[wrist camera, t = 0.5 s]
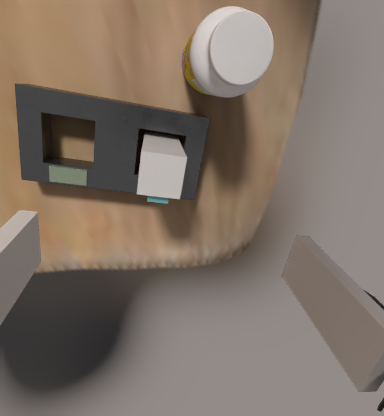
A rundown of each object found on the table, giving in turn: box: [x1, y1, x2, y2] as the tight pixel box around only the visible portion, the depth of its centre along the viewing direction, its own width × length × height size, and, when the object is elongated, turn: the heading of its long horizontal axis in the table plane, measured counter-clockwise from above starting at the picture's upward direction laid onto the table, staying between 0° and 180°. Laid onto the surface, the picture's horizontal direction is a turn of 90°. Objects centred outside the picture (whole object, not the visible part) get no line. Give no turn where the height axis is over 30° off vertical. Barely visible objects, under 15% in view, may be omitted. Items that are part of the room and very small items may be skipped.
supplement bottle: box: [182, 6, 274, 98], centre depth 25 cm, size 7×7×13 cm
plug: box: [137, 132, 187, 204], centre depth 29 cm, size 5×4×11 cm
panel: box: [15, 84, 210, 200], centre depth 32 cm, size 10×20×3 cm, turn 80°
